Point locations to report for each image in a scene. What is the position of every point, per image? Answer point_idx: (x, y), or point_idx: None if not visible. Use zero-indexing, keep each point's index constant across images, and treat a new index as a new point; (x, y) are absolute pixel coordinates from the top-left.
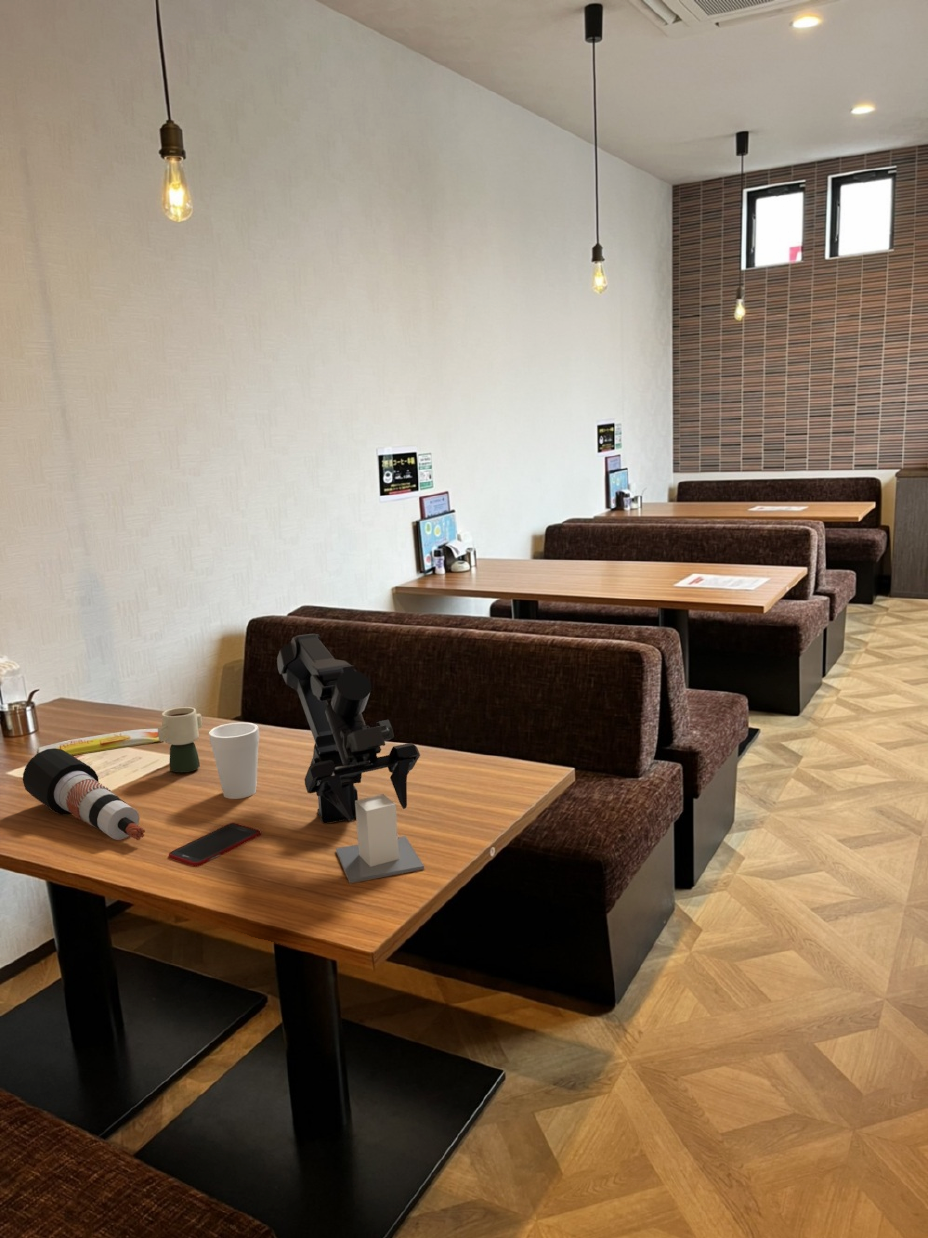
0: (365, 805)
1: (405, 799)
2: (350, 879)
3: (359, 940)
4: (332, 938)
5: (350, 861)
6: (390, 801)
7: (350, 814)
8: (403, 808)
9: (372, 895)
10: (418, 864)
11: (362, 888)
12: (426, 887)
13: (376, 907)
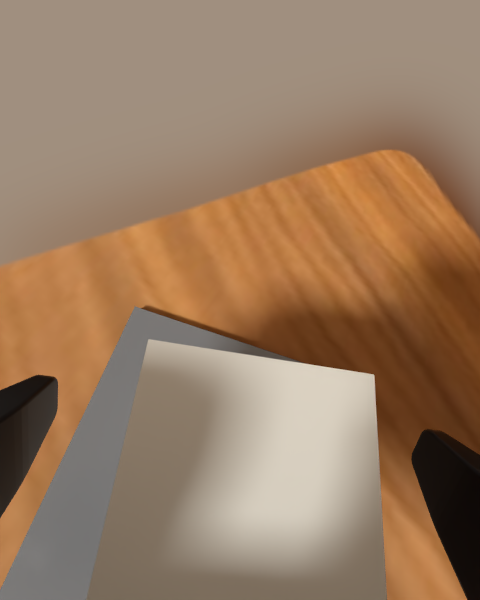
0: (345, 481)
1: (9, 391)
2: None
3: (407, 174)
4: (449, 208)
5: None
6: (146, 410)
7: (460, 446)
8: (57, 405)
9: (325, 287)
10: (141, 325)
11: (332, 335)
12: (196, 232)
13: (338, 239)
